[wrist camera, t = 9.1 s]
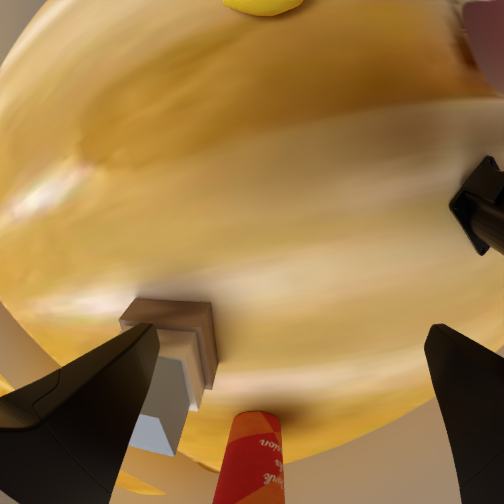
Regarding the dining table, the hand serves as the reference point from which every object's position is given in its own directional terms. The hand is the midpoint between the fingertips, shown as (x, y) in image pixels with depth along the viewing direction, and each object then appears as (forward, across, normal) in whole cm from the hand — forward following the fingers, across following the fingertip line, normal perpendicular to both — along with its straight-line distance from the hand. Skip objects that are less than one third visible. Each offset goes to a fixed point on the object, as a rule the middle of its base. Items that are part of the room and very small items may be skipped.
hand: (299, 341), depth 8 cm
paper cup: (+13, +2, +24) cm, 27 cm away
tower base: (+13, +9, +10) cm, 19 cm away
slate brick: (+7, +9, +10) cm, 15 cm away
